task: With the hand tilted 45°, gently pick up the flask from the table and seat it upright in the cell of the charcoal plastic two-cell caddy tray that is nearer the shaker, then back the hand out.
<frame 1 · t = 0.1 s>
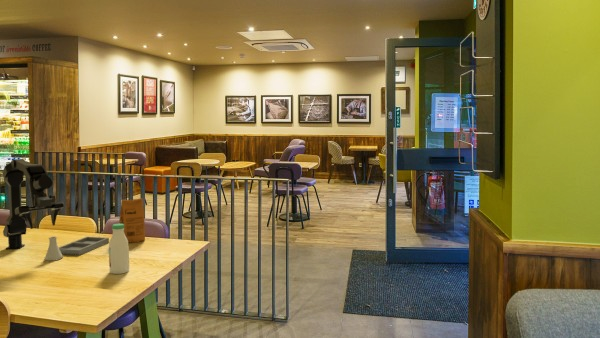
hand: (42, 227, 212), 15 cm above the table, tool pointing down, fingers open, 9 cm apart
flask: (53, 259, 217), on the table
milk bottle: (119, 272, 200), on the table
coffee package: (132, 241, 250), on the table
caddy tray: (83, 248, 236), on the table
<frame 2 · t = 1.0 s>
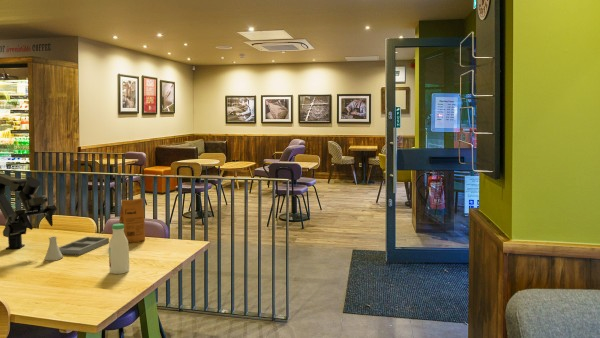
hand: (42, 227, 220), 13 cm above the table, tool tilted 45°, fingers open, 9 cm apart
nothing on the table moved.
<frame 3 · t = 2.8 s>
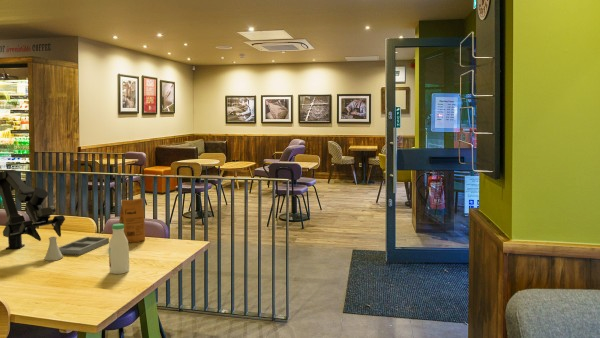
hand: (50, 238, 217), 9 cm above the table, tool tilted 45°, fingers open, 9 cm apart
nothing on the table moved.
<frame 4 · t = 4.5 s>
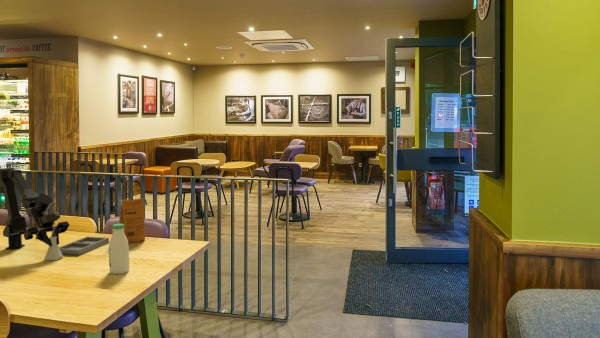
hand: (54, 245, 216), 7 cm above the table, tool tilted 45°, fingers closed on flask, 3 cm apart
flask: (53, 259, 217), on the table, touching gripper
everything else where it was.
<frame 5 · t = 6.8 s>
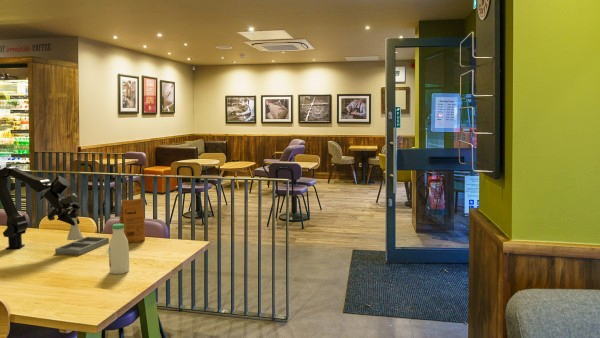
hand: (76, 224, 228), 13 cm above the table, tool tilted 45°, fingers closed on flask, 3 cm apart
flask: (75, 239, 229), point 6 cm above the table, touching gripper
everything else where it was.
when the fingers open (9 cm above the table, at t = 8.4 s): flask stays where it is, resting on caddy tray.
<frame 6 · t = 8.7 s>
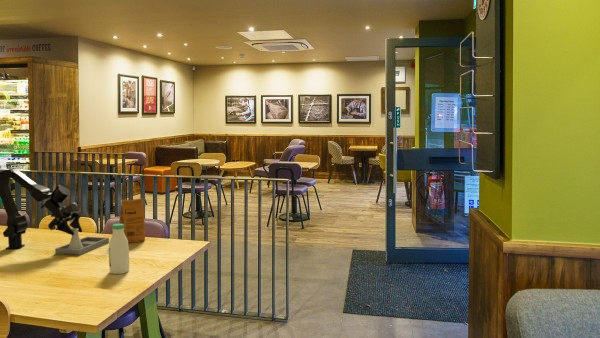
hand: (77, 233, 229), 9 cm above the table, tool tilted 45°, fingers open, 6 cm apart
flask: (75, 249, 230), point 1 cm above the table, touching caddy tray
everything else where it was.
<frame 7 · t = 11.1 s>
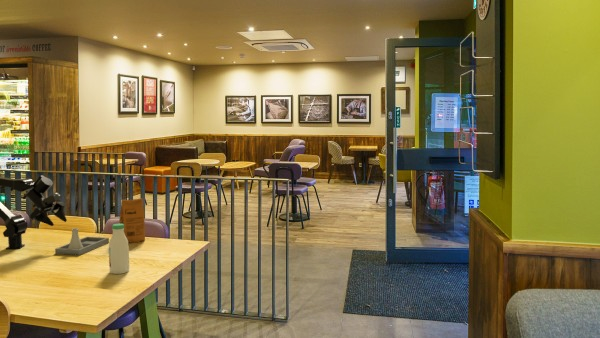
hand: (59, 223, 230), 13 cm above the table, tool tilted 45°, fingers open, 9 cm apart
nothing on the table moved.
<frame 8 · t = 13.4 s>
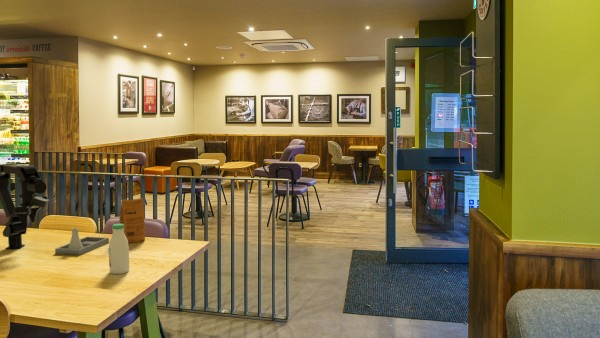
hand: (29, 224, 228), 13 cm above the table, tool pointing down, fingers open, 9 cm apart
nothing on the table moved.
at the end: flask 0.1 cm from the target spot on the caddy tray, point 0.6 cm above the caddy tray's base; flask tilted 0°; the gripper is holding nothing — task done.
